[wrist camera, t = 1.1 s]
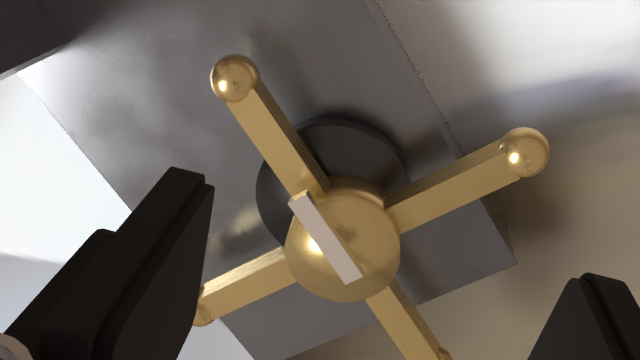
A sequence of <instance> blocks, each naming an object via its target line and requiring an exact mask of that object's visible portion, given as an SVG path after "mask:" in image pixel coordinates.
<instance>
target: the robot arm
mask: <svg viewBox="0 0 640 360" xmlns="http://www.w3.org/2000/svg"><path fill="white" fill-rule="evenodd" d="M214 194H215V187H214V186H213V185H209V184H205V175H204V174H201V173H197V172H193V171H189V170H185V169H181V168H177V167H173V166H171V167H170V168H169V169H168V170H167V171H166V172H165V173H164V175H163V176H162V177H161V178H160V179H159V181H158V182H157V183H156V184H155V185H154V187H153V188H152V189H151V190H150V191H149V193H148V194H147V195H146V196H145V197H144V199H143V200H142V201H141V202H140V203H139V205H138V206H137V207H136V208H135V209H134V211H133V212H132V213H131V214H130V215H129V217H128V218H127V219H126V220H125V221H124V223H123V224H122V225H121V226H120V227H119V229H118V230H117V231H116V232H114V231H110V230H106V229H98V230H96V231H95V232H94V233H93V234H92V235H91V236H90V237H89V238H88V239H87V240H86V241H85V243H84V244H83V245H82V246H81V247H80V248H79V249H78V250H77V252H76V253H75V254H74V255H73V256H72V257H71V258H70V259H69V260H68V262H67V263H66V264H65V265H64V266H63V267H62V268H61V270H60V271H59V272H58V273H57V274H56V275H55V276H54V277H53V278H52V279H51V281H50V282H49V283H48V284H47V285H46V286H45V287H44V288H43V290H42V291H41V292H40V293H39V294H38V295H37V296H36V297H35V299H34V300H33V301H32V302H31V303H30V304H29V305H28V306H27V307H26V309H25V310H24V311H23V312H22V313H21V314H20V315H19V316H18V318H17V319H16V320H15V321H14V322H13V323H12V324H11V325H10V327H9V328H8V329H7V330H6V331H5V332H4V333H3V334H2V333H0V360H176V359H177V357H178V355H179V353H180V351H181V348H182V346H183V344H184V342H185V340H186V338H187V336H188V334H189V332H190V329H191V327H192V325H193V322H194V318H195V315H196V311H197V305H198V298H199V292H200V285H201V279H202V272H203V266H204V259H205V253H206V246H207V240H208V233H209V227H210V220H211V214H212V207H213V201H214ZM527 360H640V308H639V306H638V304H637V303H636V301H635V299H634V297H633V296H632V294H631V292H630V290H629V288H628V287H627V285H626V284H625V283H624V282H623V281H620V280H616V279H612V278H608V277H604V276H601V275H597V274H593V273H589V272H588V273H584V274H583V275H582V276H581V277H580V278H579V279H577V278H571V279H570V280H569V281H568V283H567V284H566V286H565V288H564V290H563V292H562V294H561V296H560V298H559V299H558V301H557V303H556V305H555V307H554V309H553V311H552V313H551V315H550V317H549V319H548V321H547V323H546V325H545V327H544V328H543V330H542V332H541V334H540V336H539V338H538V340H537V342H536V344H535V346H534V348H533V350H532V352H531V354H530V355H529V357H528V359H527Z"/></svg>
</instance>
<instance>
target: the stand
mask: <svg viewBox="0 0 640 360" xmlns="http://www.w3.org/2000/svg"><path fill="white" fill-rule="evenodd" d="M230 54H239V55H243V56H246V57H248V58H249V59H251V60H252V61H253V62H254V63H255V65H256V66H257V68H258V70H259V72H260V77H261V80H262V81H263V83H264V84H265V86H266V87H267V89H268V90H269V92H270V93H271V95H272V96H273V98H274V99H275V101H276V102H277V103H278V105H279V106H280V108H281V109H282V111H283V112H284V114H285V115H286V117H287V118H288V120H289V121H290V123H291V124H292V126H293V127H295V126H297V125H300V124H302V123H305V122H308V121H311V120H315V119H321V118H343V119H348V120H353V121H356V122H359V123H362V124H364V125H367V126H369V127H371V128H373V129H374V130H376V131H378V132H379V133H381V134H382V135H383V136H384V137H386V138H387V139H388V140H389V141H390V142H391V143H392V144H393V145H394V146H395V148H396V149H397V150H398V152H399V153H400V155H401V156H402V158H403V160H404V162H405V164H406V167H407V170H408V173H409V178H410V183H411V182H413V181H415V180H417V179H419V178H421V177H423V176H426V175H428V174H430V173H432V172H434V171H436V170H438V169H440V168H442V167H444V166H446V165H448V164H450V163H452V162H454V161H456V160H458V159H460V158H462V157H464V154H463V152H462V150H461V149H460V147H459V145H458V143H457V142H456V140H455V138H454V136H453V135H452V133H451V131H450V129H449V128H448V126H447V124H446V122H445V121H444V119H443V117H442V115H441V114H440V112H439V110H438V109H437V107H436V105H435V103H434V102H433V100H432V98H431V96H430V95H429V93H428V91H427V89H426V88H425V86H424V84H423V82H422V81H421V79H420V77H419V75H418V74H417V72H416V70H415V68H414V67H413V65H412V63H411V61H410V60H409V58H408V56H407V55H406V53H405V51H404V49H403V48H402V46H401V44H400V42H399V41H398V39H397V37H396V35H395V34H394V32H393V30H392V28H391V27H390V25H389V23H388V21H387V20H386V18H385V16H384V14H383V13H382V11H381V9H380V7H379V6H378V4H377V2H376V0H0V80H2V79H4V78H6V77H8V76H10V75H12V74H15V73H18V74H19V76H20V77H21V78H22V79H23V81H24V82H25V83H26V84H27V85H28V87H29V88H30V89H31V90H32V91H33V93H34V94H35V95H36V96H37V97H38V99H39V100H40V101H41V102H42V103H43V105H44V106H45V107H46V108H47V110H48V111H49V112H50V113H51V114H52V116H53V117H54V118H55V119H56V120H57V122H58V123H59V124H60V125H61V126H62V128H63V129H64V130H65V131H66V132H67V134H68V135H69V136H70V137H71V139H72V140H73V141H74V142H75V143H76V145H77V146H78V147H79V148H80V149H81V151H82V152H83V153H84V154H85V155H86V157H87V158H88V159H89V160H90V161H91V163H92V164H93V165H94V166H95V168H96V169H97V170H98V171H99V172H100V174H101V175H102V176H103V177H104V178H105V180H106V181H107V182H108V183H109V184H110V186H111V187H112V188H113V189H114V191H115V192H116V193H117V194H118V195H119V197H120V198H121V199H122V200H123V201H124V203H125V204H126V205H127V206H128V207H129V209H130V210H131V211H132V212H133V211H134V209H135V208H136V207H137V206H138V205H139V203H140V202H141V201H142V200H143V199H144V197H145V196H146V195H147V194H148V193H149V191H150V190H151V189H152V188H153V187H154V185H155V184H156V183H157V182H158V181H159V179H160V178H161V177H162V176H163V175H164V173H165V172H166V171H167V170H168V169H169V168H170V167H171V166H173V167H177V168H181V169H185V170H189V171H193V172H197V173H201V174H204V175H205V184H209V185H213V186H214V187H215V194H214V201H213V207H212V214H211V220H210V227H209V233H208V240H207V246H206V253H205V259H204V266H203V272H202V279H201V285H204V284H205V283H207V282H209V281H211V280H213V279H215V278H217V277H219V276H221V275H223V274H225V273H227V272H229V271H231V270H233V269H235V268H237V267H239V266H241V265H243V264H245V263H248V262H250V261H252V260H254V259H256V258H258V257H260V256H262V255H264V254H266V253H268V252H270V251H272V250H274V249H276V248H278V247H280V246H282V245H281V244H280V243H279V242H278V241H277V240H276V239H275V238H274V237H273V236H272V234H271V233H270V232H269V231H268V229H267V227H266V226H265V224H264V223H263V221H262V218H261V216H260V214H259V211H258V207H257V202H256V181H257V177H258V173H259V170H260V168H261V166H262V163H263V161H264V157H263V156H262V154H261V153H260V152H259V150H258V149H257V147H256V146H255V145H254V143H253V142H252V140H251V139H250V138H249V136H248V135H247V133H246V132H245V130H244V129H243V128H242V126H241V125H240V123H239V122H238V121H237V119H236V118H235V116H234V115H233V114H232V112H231V111H230V109H229V108H228V106H227V105H226V104H227V103H225V102H223V101H222V100H220V99H219V98H218V97H217V96H216V95H215V93H214V92H213V90H212V87H211V83H210V75H211V71H212V68H213V66H214V65H215V63H216V62H217V61H218V60H219V59H221V58H222V57H224V56H227V55H230ZM516 264H517V262H516V258H515V255H514V252H513V248H512V245H511V242H510V239H509V235H508V232H507V229H506V227H505V225H504V224H503V222H502V220H501V218H500V217H499V215H498V213H497V211H496V210H495V208H494V206H493V204H492V203H491V201H490V199H489V197H488V196H487V195H485V196H483V197H480V198H478V199H476V200H474V201H472V202H469V203H467V204H465V205H463V206H461V207H459V208H456V209H454V210H452V211H450V212H448V213H445V214H443V215H441V216H439V217H437V218H435V219H432V220H430V221H428V222H426V223H424V224H422V225H419V226H417V227H415V228H413V229H411V230H408V231H406V232H404V233H402V234H400V263H399V267H398V271H397V273H396V275H395V278H396V280H397V281H398V283H399V284H400V286H401V287H402V289H403V290H404V292H405V293H406V294H407V296H408V297H409V299H410V300H411V302H412V303H413V305H414V306H416V305H419V304H421V303H424V302H426V301H428V300H431V299H433V298H436V297H438V296H441V295H443V294H446V293H448V292H450V291H453V290H455V289H458V288H460V287H463V286H465V285H468V284H470V283H472V282H475V281H477V280H480V279H482V278H485V277H487V276H490V275H492V274H494V273H497V272H499V271H502V270H504V269H507V268H509V267H512V266H514V265H516ZM220 319H221V320H222V321H223V322H224V323H225V325H226V326H227V327H228V328H229V329H230V331H231V332H232V333H233V334H234V336H235V337H236V338H237V339H238V340H239V342H240V343H241V344H242V345H243V346H244V348H245V349H246V350H247V351H248V352H249V354H250V355H251V356H252V357H253V359H254V360H284V359H287V358H289V357H291V356H294V355H296V354H299V353H301V352H304V351H306V350H309V349H311V348H313V347H316V346H318V345H321V344H323V343H326V342H328V341H331V340H333V339H335V338H338V337H340V336H343V335H345V334H348V333H350V332H353V331H355V330H358V329H360V328H362V327H365V326H367V325H370V324H372V323H375V322H377V321H379V319H378V318H377V317H376V315H375V314H374V312H373V311H372V310H371V308H370V307H369V305H368V304H367V303H366V301H365V300H360V301H354V302H337V301H332V300H328V299H324V298H321V297H319V296H317V295H315V294H313V293H311V292H309V291H308V290H307V289H305V288H304V287H303V286H302V285H300V284H299V283H298V282H295V283H293V284H291V285H289V286H286V287H284V288H282V289H280V290H278V291H276V292H273V293H271V294H269V295H267V296H265V297H262V298H260V299H258V300H256V301H254V302H252V303H249V304H247V305H245V306H243V307H241V308H238V309H236V310H234V311H232V312H230V313H228V314H225V315H223V316H221V317H220Z"/></svg>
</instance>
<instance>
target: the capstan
mask: <svg viewBox="0 0 640 360" xmlns="http://www.w3.org/2000/svg"><path fill="white" fill-rule="evenodd" d="M210 83H211V87H212V90H213V92H214V93H215V95H216V96H217V97H218V98H219V99H220V100H222V101H223V102H225V103H227V104H226V105H227V106H228V108H229V109H230V111H231V112H232V114H233V115H234V116H235V118H236V119H237V121H238V122H239V123H240V125H241V126H242V128H243V129H244V130H245V132H246V133H247V135H248V136H249V138H250V139H251V140H252V142H253V143H254V145H255V146H256V147H257V149H258V150H259V152H260V153H261V154H262V156H263V157H264V161H263V163H262V166H261V168H260V170H259V173H258V177H257V181H256V202H257V207H258V211H259V214H260V216H261V218H262V221H263V223H264V224H265V226H266V227H267V229H268V231H269V232H270V233H271V234H272V236H273V237H274V238H275V239H276V240H277V241H278V242H279V243H280V244H281V245H282V246H280V247H278V248H276V249H274V250H272V251H270V252H268V253H266V254H264V255H262V256H260V257H258V258H256V259H254V260H252V261H250V262H248V263H245V264H243V265H241V266H239V267H237V268H235V269H233V270H231V271H229V272H227V273H225V274H223V275H221V276H219V277H217V278H215V279H213V280H211V281H209V282H207V283H205V284H204V285H200V292H199V298H198V305H197V311H196V315H195V318H194V322H193V325H192V326H197V327H201V326H206V325H208V324H210V323H212V322H213V321H214V320H215V319H217V318H219V317H221V316H223V315H225V314H228V313H230V312H232V311H234V310H236V309H238V308H241V307H243V306H245V305H247V304H249V303H252V302H254V301H256V300H258V299H260V298H262V297H265V296H267V295H269V294H271V293H273V292H276V291H278V290H280V289H282V288H284V287H286V286H289V285H291V284H293V283H295V282H298V283H299V284H300V285H302V286H303V287H304V288H305V289H307V290H308V291H309V292H311V293H313V294H315V295H317V296H319V297H321V298H324V299H328V300H332V301H337V302H354V301H360V300H365V301H366V303H367V304H368V305H369V307H370V308H371V310H372V311H373V312H374V314H375V315H376V317H377V318H378V319H379V321H380V322H381V324H382V325H383V326H384V328H385V329H386V331H387V332H388V334H389V335H390V336H391V338H392V339H393V341H394V342H395V343H396V345H397V346H398V348H399V349H400V350H401V352H402V353H403V355H404V356H405V358H406V359H407V360H453V358H452V356H451V354H450V353H449V352H448V351H447V350H446V349H445V348H443V347H441V346H440V343H439V342H438V340H437V339H436V337H435V336H434V334H433V333H432V331H431V330H430V329H429V327H428V326H427V324H426V323H425V321H424V320H423V318H422V317H421V315H420V314H419V312H418V311H417V309H416V308H415V306H414V305H413V303H412V302H411V300H410V299H409V297H408V296H407V294H406V293H405V292H404V290H403V289H402V287H401V286H400V284H399V283H398V281H397V280H396V278H395V275H396V273H397V271H398V267H399V263H400V234H402V233H404V232H406V231H408V230H411V229H413V228H415V227H417V226H419V225H422V224H424V223H426V222H428V221H430V220H432V219H435V218H437V217H439V216H441V215H443V214H445V213H448V212H450V211H452V210H454V209H456V208H459V207H461V206H463V205H465V204H467V203H469V202H472V201H474V200H476V199H478V198H480V197H483V196H485V195H487V194H489V193H491V192H493V191H496V190H498V189H500V188H502V187H504V186H506V185H509V184H511V183H513V182H515V181H517V180H520V177H521V178H526V177H531V176H534V175H536V174H538V173H540V172H541V171H542V170H543V169H544V168H545V167H546V165H547V164H548V162H549V159H550V145H549V143H548V140H547V139H546V137H545V136H544V135H543V134H542V133H541V132H539V131H537V130H535V129H533V128H529V127H520V128H515V129H513V130H511V131H509V132H508V133H506V134H505V135H504V136H503V137H502V139H499V140H497V141H495V142H493V143H491V144H489V145H487V146H485V147H483V148H481V149H479V150H477V151H475V152H473V153H471V154H468V155H466V156H464V157H462V158H460V159H458V160H456V161H454V162H452V163H450V164H448V165H446V166H444V167H442V168H440V169H438V170H436V171H434V172H432V173H430V174H428V175H426V176H423V177H421V178H419V179H417V180H415V181H413V182H411V183H410V178H409V173H408V170H407V167H406V164H405V162H404V160H403V158H402V156H401V155H400V153H399V152H398V150H397V149H396V148H395V146H394V145H393V144H392V143H391V142H390V141H389V140H388V139H387V138H386V137H384V136H383V135H382V134H381V133H379V132H378V131H376V130H374V129H373V128H371V127H369V126H367V125H364V124H362V123H359V122H356V121H353V120H348V119H343V118H321V119H315V120H311V121H308V122H305V123H302V124H300V125H297V126H295V127H293V126H292V124H291V123H290V121H289V120H288V118H287V117H286V115H285V114H284V112H283V111H282V109H281V108H280V106H279V105H278V103H277V102H276V101H275V99H274V98H273V96H272V95H271V93H270V92H269V90H268V89H267V87H266V86H265V84H264V83H263V81H262V80H261V77H260V72H259V70H258V68H257V66H256V65H255V63H254V62H253V61H252V60H251V59H249V58H248V57H246V56H243V55H239V54H230V55H227V56H224V57H222V58H221V59H219V60H218V61H217V62H216V63H215V65H214V66H213V68H212V71H211V75H210Z"/></svg>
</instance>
